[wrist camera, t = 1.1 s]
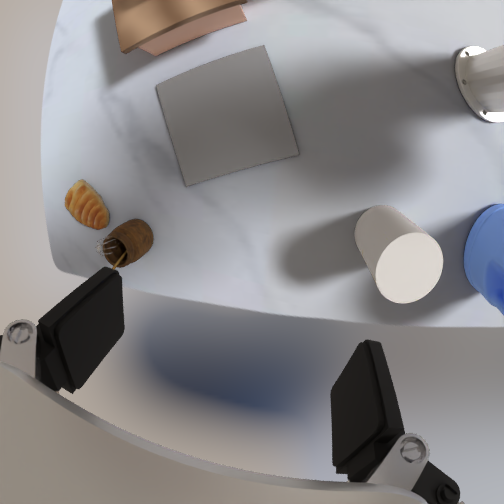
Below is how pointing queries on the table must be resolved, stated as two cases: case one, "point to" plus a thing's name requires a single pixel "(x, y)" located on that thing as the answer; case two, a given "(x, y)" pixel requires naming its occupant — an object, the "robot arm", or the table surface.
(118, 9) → the lid
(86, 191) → the pastry
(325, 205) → the table surface
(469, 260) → the water jug
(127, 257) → the utensil holder
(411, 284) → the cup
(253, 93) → the mat
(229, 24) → the pink open box
